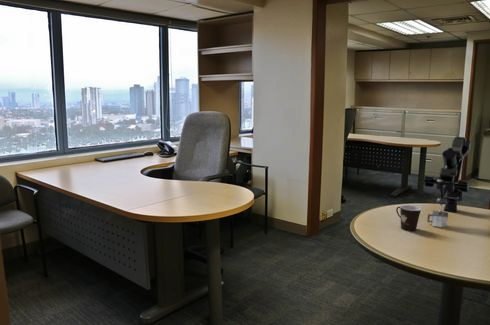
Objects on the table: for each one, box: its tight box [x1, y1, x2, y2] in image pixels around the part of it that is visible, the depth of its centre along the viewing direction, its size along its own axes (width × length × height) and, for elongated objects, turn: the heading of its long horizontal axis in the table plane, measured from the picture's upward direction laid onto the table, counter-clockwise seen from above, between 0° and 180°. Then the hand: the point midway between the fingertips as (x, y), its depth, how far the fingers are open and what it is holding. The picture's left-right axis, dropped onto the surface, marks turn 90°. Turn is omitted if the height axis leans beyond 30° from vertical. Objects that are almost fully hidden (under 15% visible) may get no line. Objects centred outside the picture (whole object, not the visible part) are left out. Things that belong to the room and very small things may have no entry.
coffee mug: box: [395, 204, 422, 232], centre depth 182 cm, size 12×9×10 cm
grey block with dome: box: [426, 210, 449, 229], centre depth 187 cm, size 7×8×6 cm
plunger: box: [436, 197, 447, 214], centre depth 185 cm, size 5×5×8 cm
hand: (442, 198), depth 184 cm, fingers closed
